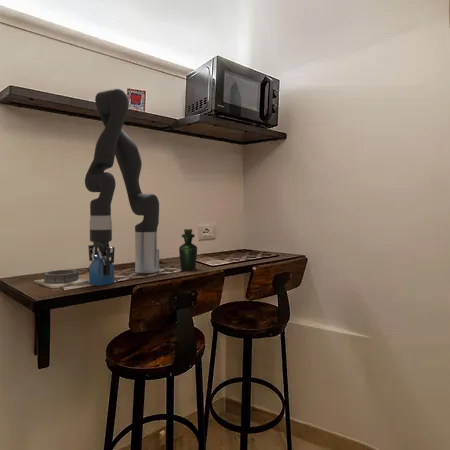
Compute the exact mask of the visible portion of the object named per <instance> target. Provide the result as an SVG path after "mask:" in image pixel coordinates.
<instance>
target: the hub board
mask: <svg viewBox="0 0 450 450" xmlns="http://www.w3.org/2000/svg"><path fill="white" fill-rule="evenodd" d="M79 276H80V275H79V270H74V269H57V270H49V271H46V272H44V273H43V278H42V279H37V280H36V279H35V280H34V281H33V283H35V284H37V285H41V286H44V287H46V288H50V289H58V288H63V287H64V288H65V287H72V286H75V285H76V286H77V285H82V284H83V285H84V284H89V279H86V278H85V279H84V278H81V277H79Z"/></svg>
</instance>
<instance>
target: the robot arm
mask: <svg viewBox="0 0 450 450" xmlns="http://www.w3.org/2000/svg"><path fill="white" fill-rule="evenodd" d="M94 100H95V101H94V103H95V107H96V110H97V112H98V115H99V117H100V119H101V121H102V123H103V124H102V125H103V126H104V129H103V131H102V132H101V133H100V135H99V136H98V138H97V141H96V143H95V149H94V153H93V159H92V162H91V164H90V165H89V167H88V170H87V172H86V174H85V177H84V185H85V188H86V189H87V191H88V192H90V193H99V194H98V197H96V198H94V199H92V200H90V204H89V215H90V218H89V241H90V242H91V243H93V244H88V246H87V247H88V259H89V262H92V261H93V260H94V259H97V257H96V254H97V251H98V253H99V256H100V259H101V260H102V262H103V275H104V276H109V275H110V265H111V264H114V263H115V247H114V246H110V242H112V240H113V233H112V232H113V230H112V229H113V223H112V202H113V197H114V195H115V194H114V193H115V191H116V190H115V189H116V179H115V177H114V175H113V174H112V173H110V172H107V171H106V170H108V169H111V168H113V166H114V163H115V160H116V162H117V165H118V168H119V170H120V172H121V176H122V179H123V182H124V185H125V190H126V194H127V198H128V202H129V206H130V209H131V211H132V213H133V214H135V216H143V217H142V221H141V222H140V223H136V225H134V245H135V246H134V249H135V251H134V256H135V257H134V258H135V259H134V262H135V265H134V266H135V268H134V271H135V273H136V274H152V273H157V272H160V248H158V226H159V224H160V223H159V221H160V220H159V219H160V201H159V198H158V196H157V195H156V194H153V193H143V192H142V190H141V185H140V175H141V172H142V171H141V170H142V167H143V164H142V157H141V155H140V152H139V149H138V146H137V144H136V143H135V142H134V140H133V139H132V138H131V137H130V136H129V135H128V134H127V132H125V130H124V129H123V125H124V123H125V119H126V117H127V113H128V110H129V105H130V103H129V97H128V94H127V93H126V92H125V91H124V90H123V88H111V89H106V90H103V91H99V92H97V93H96V95H95V99H94ZM105 171H106V172H105ZM105 259H106V261H105Z"/></svg>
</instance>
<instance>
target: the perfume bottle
mask: <svg viewBox="0 0 450 450" xmlns="http://www.w3.org/2000/svg"><path fill="white" fill-rule="evenodd" d="M96 257H97V259H94V260H93V261H91V262H90V264H89V266H88V280H89V283H88V284H89V285H94V286H97V287H98V286H99V287H101V286H105V285H111V284H115V265H114V263H112V264H111V265H110V275H109V276H104V275H103V262H102V260H101V259H100V256H99V253H98V251H97V254H96ZM105 261H106V259H105Z"/></svg>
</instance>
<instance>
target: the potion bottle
mask: <svg viewBox="0 0 450 450" xmlns="http://www.w3.org/2000/svg"><path fill="white" fill-rule="evenodd" d="M183 232H184V233H182V234H181V238H183V240H184V243H183V244H181V245H180V246H179V247H178V253H179V262H180V270H182V271H186V272H187V271H189V270H190V271H195V270H196V269H197V268H196V267H197V260H198V259H197V255H198V247H197V245H196V244H194V243H192V242H193V238H195V234H194V233H193V228H184V229H183Z"/></svg>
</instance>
